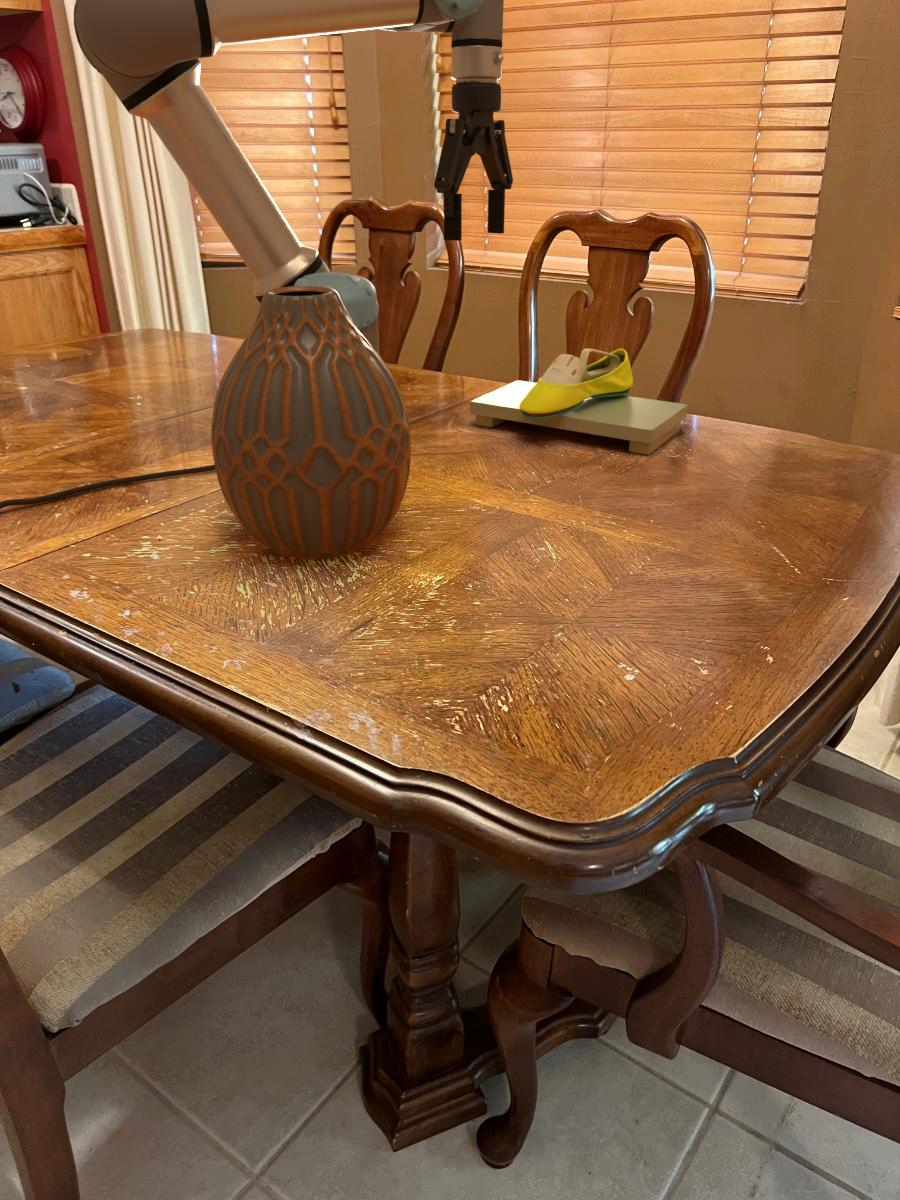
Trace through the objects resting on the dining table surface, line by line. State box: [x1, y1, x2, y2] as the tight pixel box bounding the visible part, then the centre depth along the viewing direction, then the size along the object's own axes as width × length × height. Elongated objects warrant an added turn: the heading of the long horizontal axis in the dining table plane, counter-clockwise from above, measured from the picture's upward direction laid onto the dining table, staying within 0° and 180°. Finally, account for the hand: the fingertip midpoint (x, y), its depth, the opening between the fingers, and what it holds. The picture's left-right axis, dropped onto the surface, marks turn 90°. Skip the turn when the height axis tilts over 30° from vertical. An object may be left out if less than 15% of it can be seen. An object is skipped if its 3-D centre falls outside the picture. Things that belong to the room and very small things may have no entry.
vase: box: [210, 286, 412, 561], centre depth 92 cm, size 21×21×27 cm
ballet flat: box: [519, 347, 634, 419], centre depth 132 cm, size 8×24×8 cm, turn 132°
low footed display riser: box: [469, 379, 689, 456], centre depth 135 cm, size 16×30×4 cm, turn 58°
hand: (475, 236), depth 138 cm, fingers open, 13 cm apart
